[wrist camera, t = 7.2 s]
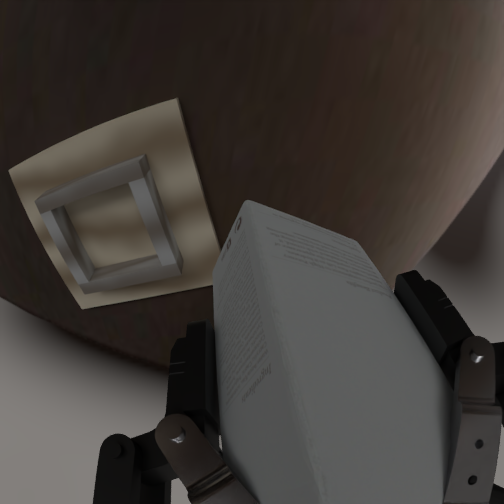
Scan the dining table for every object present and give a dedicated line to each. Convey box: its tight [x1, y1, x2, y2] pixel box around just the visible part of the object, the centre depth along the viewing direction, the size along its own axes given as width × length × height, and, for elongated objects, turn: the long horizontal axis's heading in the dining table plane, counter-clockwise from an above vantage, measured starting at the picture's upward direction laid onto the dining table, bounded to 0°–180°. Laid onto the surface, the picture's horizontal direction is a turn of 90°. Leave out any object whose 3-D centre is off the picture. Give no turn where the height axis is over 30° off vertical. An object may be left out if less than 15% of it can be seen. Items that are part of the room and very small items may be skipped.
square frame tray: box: [8, 98, 221, 309], centre depth 28 cm, size 20×20×4 cm
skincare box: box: [212, 200, 454, 504], centre depth 9 cm, size 6×4×12 cm
